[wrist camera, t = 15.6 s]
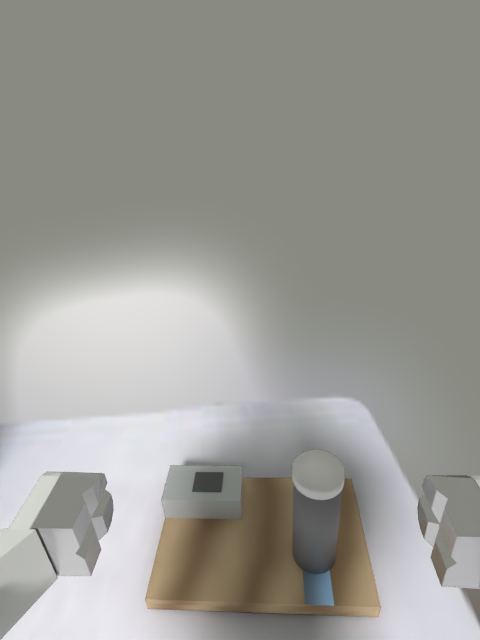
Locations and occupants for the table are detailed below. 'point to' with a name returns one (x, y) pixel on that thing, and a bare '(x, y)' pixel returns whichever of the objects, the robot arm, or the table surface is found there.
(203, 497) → the block
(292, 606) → the board
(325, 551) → the peg
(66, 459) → the table surface
